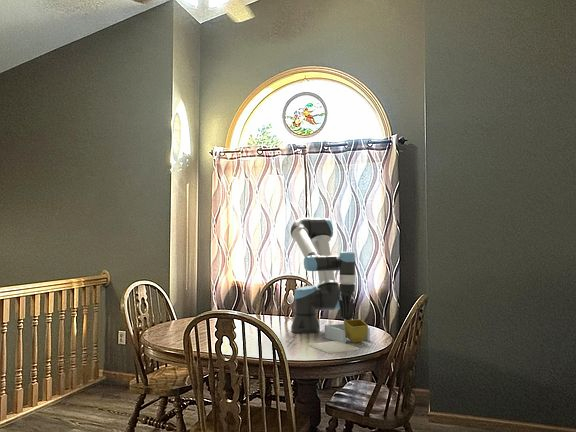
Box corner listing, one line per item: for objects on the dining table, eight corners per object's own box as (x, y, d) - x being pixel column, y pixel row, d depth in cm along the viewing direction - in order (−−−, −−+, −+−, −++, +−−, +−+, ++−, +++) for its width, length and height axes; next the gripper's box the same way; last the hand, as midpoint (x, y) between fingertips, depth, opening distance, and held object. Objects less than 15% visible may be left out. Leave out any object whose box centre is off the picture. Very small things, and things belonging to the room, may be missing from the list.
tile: (307, 345, 243) (307, 344, 243) (336, 341, 250) (336, 340, 250) (329, 353, 227) (329, 352, 227) (359, 349, 235) (359, 348, 235)
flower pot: (350, 345, 246) (351, 326, 244) (342, 337, 254) (343, 320, 252) (367, 343, 249) (368, 325, 247) (358, 336, 257) (360, 318, 255)
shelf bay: (324, 337, 260) (324, 325, 260) (350, 334, 268) (350, 322, 268) (343, 343, 246) (343, 330, 246) (369, 340, 254) (369, 328, 254)
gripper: (333, 282, 261) (333, 331, 259) (348, 284, 250) (347, 334, 248) (346, 282, 264) (345, 330, 263) (361, 284, 253) (360, 333, 252)
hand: (346, 332), depth 255 cm, fingers closed
